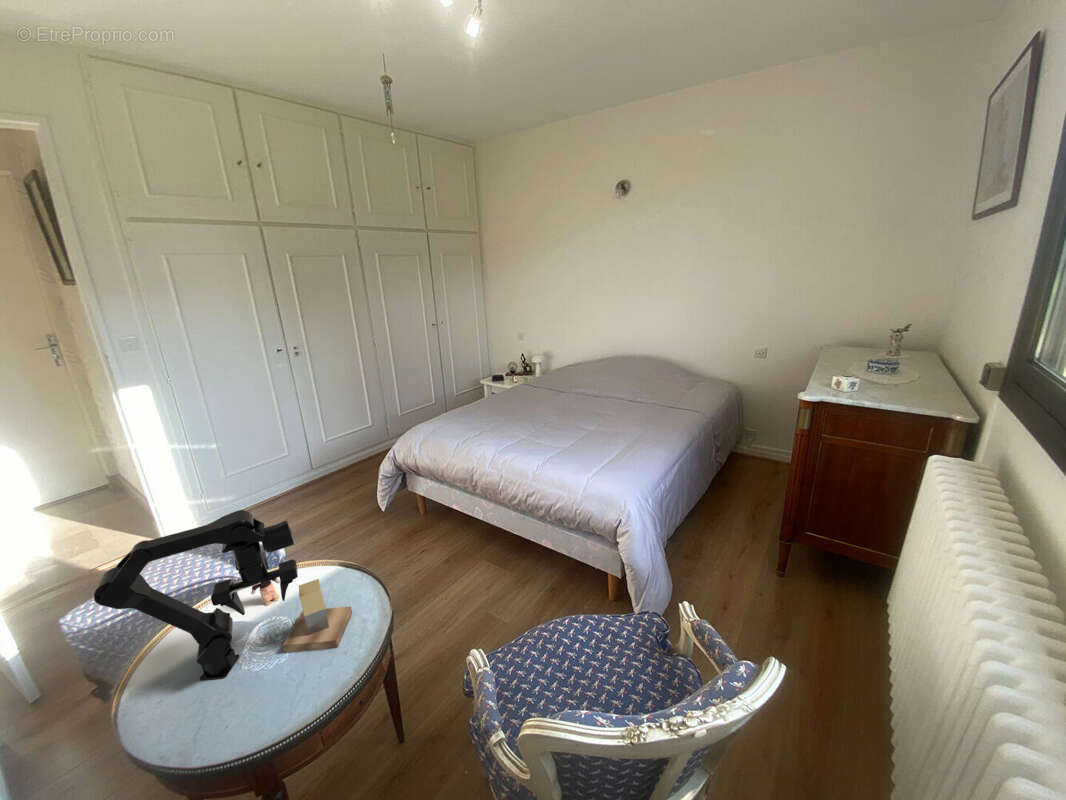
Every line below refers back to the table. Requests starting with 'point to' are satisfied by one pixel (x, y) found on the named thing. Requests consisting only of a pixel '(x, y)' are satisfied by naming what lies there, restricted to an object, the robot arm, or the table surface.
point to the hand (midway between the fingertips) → (264, 606)
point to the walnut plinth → (323, 638)
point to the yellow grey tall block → (313, 606)
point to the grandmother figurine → (267, 591)
